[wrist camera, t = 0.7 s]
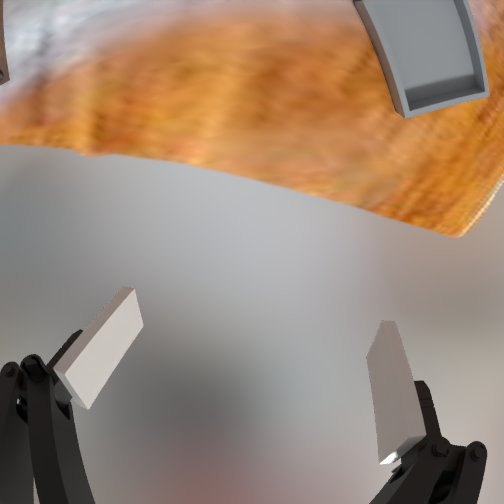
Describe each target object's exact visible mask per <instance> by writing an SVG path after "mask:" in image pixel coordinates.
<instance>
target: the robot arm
mask: <svg viewBox="0 0 504 504" xmlns="http://www.w3.org/2000/svg"><path fill="white" fill-rule="evenodd" d="M142 327H143V322H142V319H141V315H140V310H139V306H138V302H137V298H136V293H135V289H134V288H129V287H125V286H123V287H122V289H120V291H119V292H118V293H117V294H116V295H115V296H114V297H113V298H112V299H111V300H110V301H109V303H108V304H107V305H106V306H105V307H104V308H103V309H102V310H101V312H100V313H99V314H98V315H97V316H96V317H95V318H94V319H93V321H92V322H91V323H90V324H89V325H88V326H87V328H86V329H85V330H84V331H83V330H79V331H77V332H75V333H74V334H72V335H71V337H70V338H69V339H68V340H67V342H65V343H64V345H63V346H62V348H60V349H59V351H58V352H57V353H56V354H55V356H54V357H53V358H52V359H51V360H50V362H49V363H48V364H47V365H46V366H45V364H44V362H43V361H42V359H41V358H40V357H39V356H38V355H36V354H31V355H29V356H27V357H25V358H24V359H23V360H22V362H21V364H20V367H19V365H18V364H17V363H16V362H8V363H6V364H5V365H4V366H3V368H2V370H1V372H0V504H34V499H33V482H34V479H35V484H36V489H37V494H38V498H39V502H40V504H95V501H94V499H93V496H92V492H91V489H90V486H89V483H88V480H87V476H86V473H85V469H84V465H83V461H82V457H81V454H80V449H79V444H78V439H77V434H76V429H75V423H74V417H73V410H72V405H71V402H70V400H71V399H72V397H73V399H74V400H75V402H76V403H77V404H79V405H80V406H82V407H84V408H86V409H88V410H89V408H90V407H91V405H92V403H93V402H94V400H95V398H96V397H97V395H98V394H99V392H100V391H101V389H102V387H103V386H104V384H105V383H106V381H107V380H108V378H109V377H110V375H111V373H112V372H113V370H114V369H115V367H116V366H117V364H118V363H119V361H120V360H121V358H122V357H123V355H124V354H125V352H126V351H127V349H128V348H129V346H130V345H131V343H132V342H133V340H134V339H135V337H136V336H137V335H138V333H139V332H140V330H141V329H142ZM366 358H367V364H368V370H369V377H370V383H371V389H372V397H373V404H374V413H375V422H376V431H377V442H378V454H379V464H386V463H394V462H396V461H397V460H398V459H400V458H401V463H402V464H400V465H399V466H398V467H397V468H395V469H394V470H393V471H392V473H394V474H393V475H392V476H391V478H390V479H389V480H388V482H387V483H386V484H385V485H384V487H383V488H382V489H381V490H380V492H379V493H378V494H377V495H376V496H375V498H374V499H373V500H372V501H371V502H370V503H369V504H477V501H478V497H479V493H480V489H481V485H482V481H483V476H484V471H485V466H486V460H487V450H486V447H485V445H484V444H482V443H481V442H479V441H475V442H472V443H470V444H469V445H468V446H467V447H464V446H457V445H452V444H450V442H449V441H448V440H447V439H446V438H444V437H442V435H441V432H440V428H439V423H438V419H437V415H436V411H435V408H434V404H433V400H432V397H431V393H430V390H429V388H428V386H427V385H426V384H425V382H424V381H414V380H413V377H412V373H411V370H410V366H409V363H408V360H407V356H406V353H405V350H404V347H403V344H402V341H401V338H400V334H399V332H398V329H397V326H396V323H395V321H382V322H381V324H380V326H379V329H378V331H377V334H376V336H375V339H374V341H373V343H372V346H371V348H370V350H369V352H368V355H367V357H366ZM17 399H19V403H18V404H17ZM33 478H34V479H33Z"/></svg>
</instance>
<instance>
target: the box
mask: <svg viewBox="0 0 504 504" xmlns="http://www.w3.org/2000/svg"><path fill="white" fill-rule="evenodd" d="M353 3H354V5H355V7H356V9H357V11H358V13H359V15H360V17H361V19H362V21H363V23H364V25H365V28H366V30H367V32H368V34H369V37H370V39H371V41H372V44H373V46H374V49H375V51H376V54H377V56H378V59H379V61H380V64H381V67H382V70H383V72H384V75H385V78H386V81H387V84H388V87H389V91H390V94H391V97H392V100H393V104H394V107H395V111H396V112H397V113H399V114H400V115H401V116H402V117H404V118H405V119H407V118H411V117H414V116H417V115H420V114H424V113H427V112H431V111H434V110H438V109H441V108H445V107H449V106H452V105H456V104H460V103H464V102H468V101H472V100H476V99H481V98H485V97H490V95H489V87H488V80H487V74H486V68H485V62H484V57H483V53H482V48H481V44H480V40H479V36H478V32H477V29H476V25H475V22H474V19H473V15H472V12H471V9H470V6H469V4H468V1H467V0H361V1H356V2H353Z"/></svg>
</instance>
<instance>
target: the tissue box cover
mask: <svg viewBox="0 0 504 504" xmlns="http://www.w3.org/2000/svg"><path fill="white" fill-rule="evenodd" d="M9 80H10V78H9V73H8V66H7V59H6V52H5V42H4V29H3V0H0V85H2V84H4V83H5V82H7V81H9Z"/></svg>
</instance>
